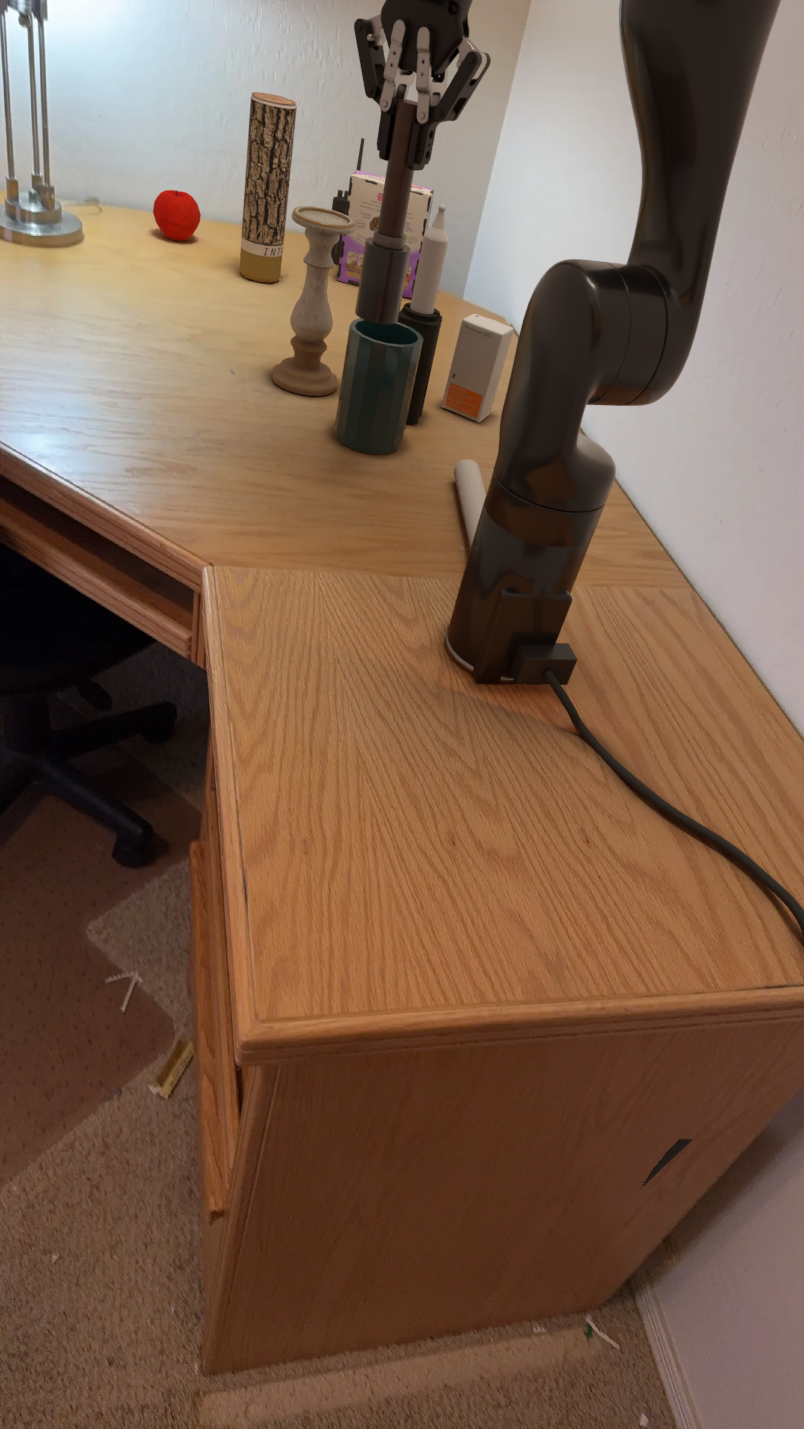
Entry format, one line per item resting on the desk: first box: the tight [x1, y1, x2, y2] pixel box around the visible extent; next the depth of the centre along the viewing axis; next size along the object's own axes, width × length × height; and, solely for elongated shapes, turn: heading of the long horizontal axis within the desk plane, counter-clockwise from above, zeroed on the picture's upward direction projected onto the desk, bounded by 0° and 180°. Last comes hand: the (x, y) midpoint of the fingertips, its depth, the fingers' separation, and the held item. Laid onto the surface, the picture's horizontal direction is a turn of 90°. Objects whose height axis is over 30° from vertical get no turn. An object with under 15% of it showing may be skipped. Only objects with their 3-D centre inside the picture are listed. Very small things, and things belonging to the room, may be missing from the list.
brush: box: [354, 98, 418, 324], centre depth 86 cm, size 5×5×19 cm
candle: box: [398, 203, 449, 426], centre depth 108 cm, size 5×5×25 cm
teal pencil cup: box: [333, 317, 423, 455], centre depth 104 cm, size 8×8×13 cm
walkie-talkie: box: [331, 137, 365, 266], centre depth 155 cm, size 5×3×20 cm
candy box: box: [336, 170, 435, 299], centre depth 150 cm, size 14×6×16 cm, turn 82°
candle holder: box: [271, 205, 355, 397], centre depth 111 cm, size 9×9×20 cm
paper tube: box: [238, 91, 298, 283], centre depth 138 cm, size 7×7×25 cm
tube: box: [453, 458, 487, 550], centre depth 94 cm, size 3×3×25 cm
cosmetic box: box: [441, 312, 515, 423], centre depth 117 cm, size 6×4×12 cm
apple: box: [152, 189, 202, 242], centre depth 151 cm, size 8×8×7 cm
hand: (401, 163), depth 83 cm, fingers closed on brush, 2 cm apart
